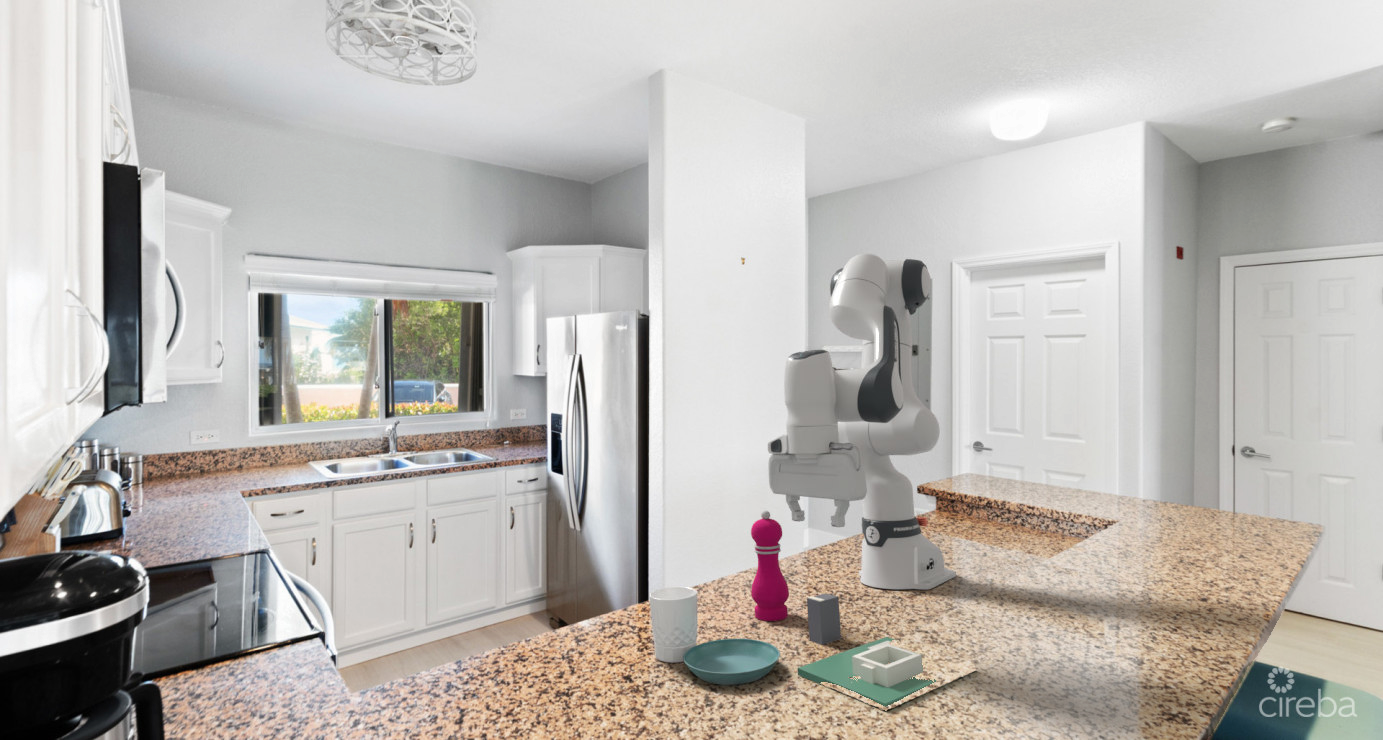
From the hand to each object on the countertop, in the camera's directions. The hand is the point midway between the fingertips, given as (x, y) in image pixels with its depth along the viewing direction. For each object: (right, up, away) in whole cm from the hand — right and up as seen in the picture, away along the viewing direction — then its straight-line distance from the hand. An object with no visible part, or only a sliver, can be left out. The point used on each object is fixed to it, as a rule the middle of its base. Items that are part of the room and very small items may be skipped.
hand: (817, 523), depth 112 cm
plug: (+1, -19, -1) cm, 19 cm away
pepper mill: (-6, -21, +13) cm, 25 cm away
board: (+7, -18, -17) cm, 25 cm away
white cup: (-24, -20, -5) cm, 32 cm away
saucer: (-15, -20, -13) cm, 28 cm away
